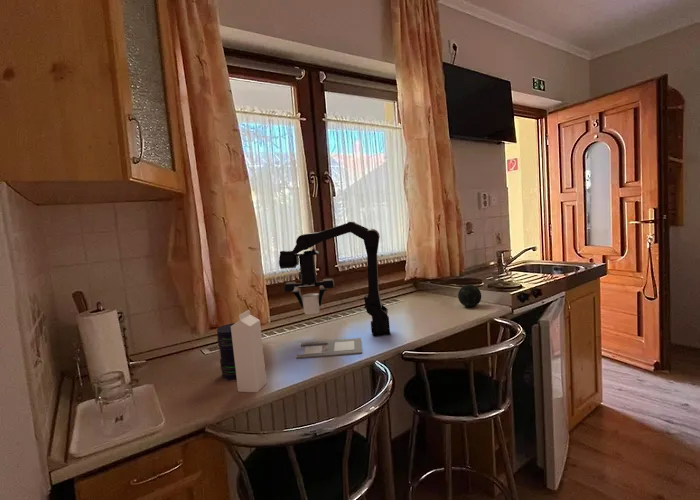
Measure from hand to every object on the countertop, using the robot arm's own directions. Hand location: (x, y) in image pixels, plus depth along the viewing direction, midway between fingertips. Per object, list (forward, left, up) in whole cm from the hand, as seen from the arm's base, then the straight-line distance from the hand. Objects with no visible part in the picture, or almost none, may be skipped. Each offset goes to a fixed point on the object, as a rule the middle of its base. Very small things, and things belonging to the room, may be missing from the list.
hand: (311, 307), depth 159 cm
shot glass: (0, 0, -2) cm, 2 cm away
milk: (+14, +43, -12) cm, 47 cm away
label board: (-7, +15, -12) cm, 21 cm away
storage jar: (+21, +32, -12) cm, 40 cm away
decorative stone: (-68, -25, -12) cm, 73 cm away
